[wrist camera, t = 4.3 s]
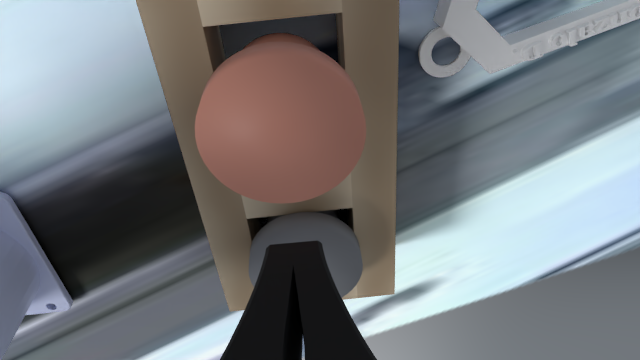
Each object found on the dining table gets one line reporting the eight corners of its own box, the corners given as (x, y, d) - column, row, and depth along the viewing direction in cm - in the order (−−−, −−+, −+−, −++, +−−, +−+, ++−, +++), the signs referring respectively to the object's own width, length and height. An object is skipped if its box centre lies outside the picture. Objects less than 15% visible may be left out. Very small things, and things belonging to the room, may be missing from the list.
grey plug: (261, 254, 25) (258, 313, 22) (244, 179, 22) (239, 235, 19) (354, 244, 25) (364, 302, 22) (350, 168, 22) (361, 222, 19)
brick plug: (226, 147, 18) (215, 210, 15) (195, 19, 15) (174, 66, 12) (353, 134, 18) (368, 194, 15) (347, 3, 15) (363, 46, 12)
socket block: (234, 266, 26) (230, 311, 23) (154, -34, 17) (132, -11, 14) (383, 250, 26) (394, 294, 23) (382, -58, 17) (400, -38, 14)
